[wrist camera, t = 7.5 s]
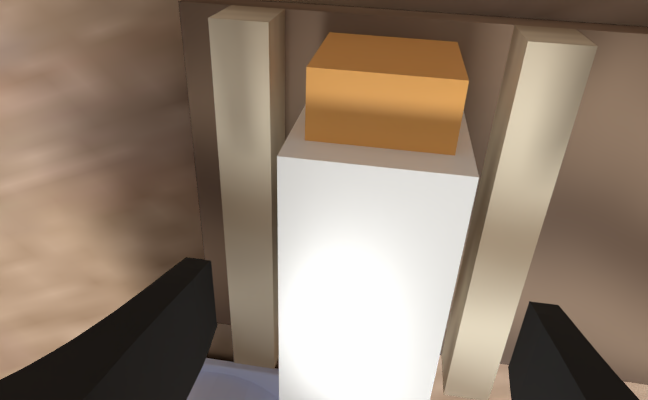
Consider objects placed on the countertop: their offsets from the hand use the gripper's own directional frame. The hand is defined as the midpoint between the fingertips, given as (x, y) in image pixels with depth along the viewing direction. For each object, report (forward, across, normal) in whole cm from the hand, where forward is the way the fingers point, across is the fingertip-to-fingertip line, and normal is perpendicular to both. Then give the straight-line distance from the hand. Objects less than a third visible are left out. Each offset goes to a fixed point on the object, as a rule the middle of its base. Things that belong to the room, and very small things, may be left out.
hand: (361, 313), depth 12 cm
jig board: (+6, -5, 0) cm, 8 cm away
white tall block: (+5, 0, 0) cm, 5 cm away
